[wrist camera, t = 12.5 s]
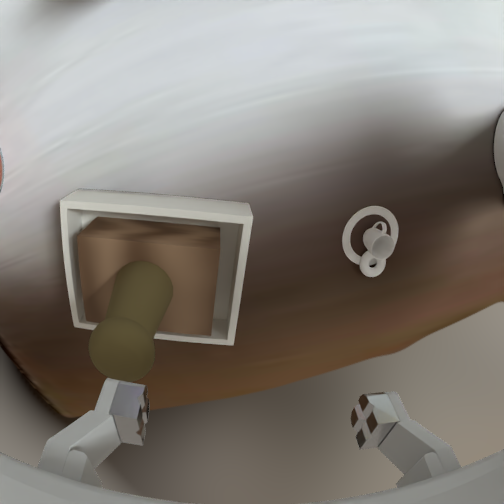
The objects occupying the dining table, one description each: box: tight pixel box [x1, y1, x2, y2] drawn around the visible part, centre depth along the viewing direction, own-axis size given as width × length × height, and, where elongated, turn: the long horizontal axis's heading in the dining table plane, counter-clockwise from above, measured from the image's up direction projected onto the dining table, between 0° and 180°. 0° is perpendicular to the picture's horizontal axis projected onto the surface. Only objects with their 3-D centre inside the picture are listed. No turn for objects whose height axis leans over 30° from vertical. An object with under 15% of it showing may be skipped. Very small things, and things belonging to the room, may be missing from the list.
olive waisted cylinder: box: [88, 261, 173, 382], centre depth 25 cm, size 6×6×11 cm
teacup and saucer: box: [342, 206, 398, 277], centre depth 37 cm, size 9×8×4 cm
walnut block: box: [77, 216, 221, 336], centre depth 33 cm, size 14×10×6 cm
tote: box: [60, 189, 253, 345], centre depth 34 cm, size 20×16×5 cm
